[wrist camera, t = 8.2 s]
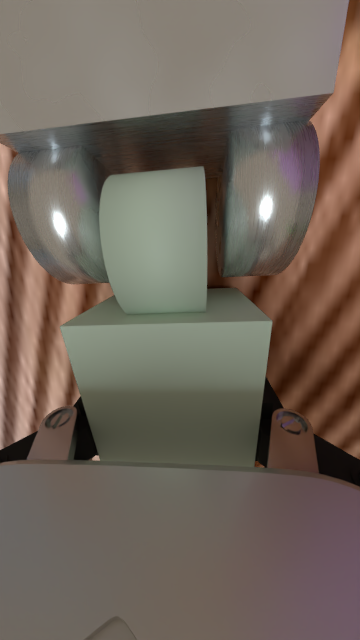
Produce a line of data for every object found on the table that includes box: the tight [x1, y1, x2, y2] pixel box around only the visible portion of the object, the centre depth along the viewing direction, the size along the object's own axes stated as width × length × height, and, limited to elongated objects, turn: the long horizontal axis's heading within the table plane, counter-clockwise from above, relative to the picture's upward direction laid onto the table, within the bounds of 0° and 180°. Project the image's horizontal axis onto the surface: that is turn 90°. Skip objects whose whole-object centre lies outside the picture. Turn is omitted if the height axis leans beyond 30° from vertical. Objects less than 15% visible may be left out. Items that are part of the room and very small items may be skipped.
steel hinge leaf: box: [0, 0, 349, 284], centre depth 7 cm, size 9×12×5 cm
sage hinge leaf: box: [60, 166, 272, 467], centre depth 9 cm, size 6×14×5 cm, turn 3°
